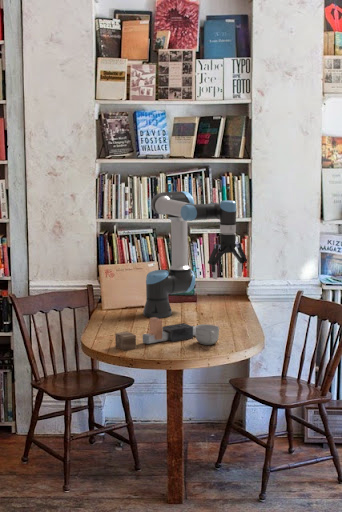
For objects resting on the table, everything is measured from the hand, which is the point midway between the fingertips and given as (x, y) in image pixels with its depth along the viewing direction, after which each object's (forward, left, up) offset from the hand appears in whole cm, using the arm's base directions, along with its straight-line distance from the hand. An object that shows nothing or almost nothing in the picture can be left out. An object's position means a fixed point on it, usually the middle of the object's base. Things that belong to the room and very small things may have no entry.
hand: (227, 277), depth 353 cm
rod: (-5, -29, -27) cm, 40 cm away
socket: (-5, -53, -27) cm, 60 cm away
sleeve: (-5, -25, -27) cm, 37 cm away
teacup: (+11, -19, -27) cm, 35 cm away
